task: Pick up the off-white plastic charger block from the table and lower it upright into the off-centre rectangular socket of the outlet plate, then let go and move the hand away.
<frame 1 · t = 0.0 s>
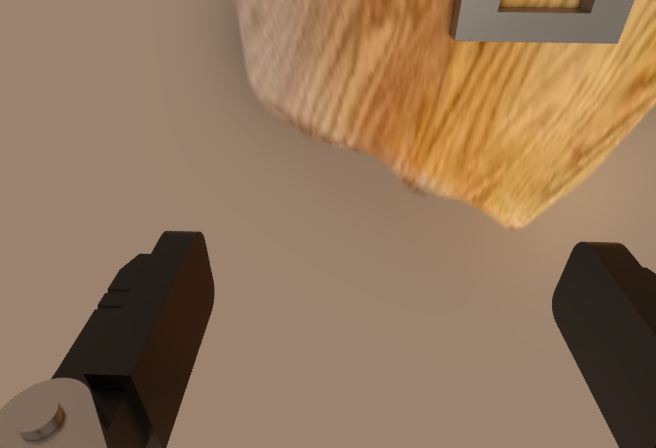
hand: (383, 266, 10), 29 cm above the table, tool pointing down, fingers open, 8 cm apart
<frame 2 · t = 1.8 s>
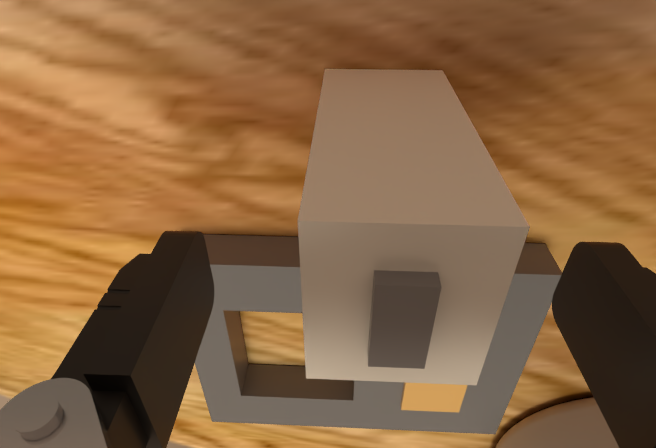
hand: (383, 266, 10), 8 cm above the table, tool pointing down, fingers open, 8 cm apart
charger: (378, 132, 16), on the table
cylinder vase: (587, 442, 28), on the table
outlet plate: (355, 329, 23), on the table
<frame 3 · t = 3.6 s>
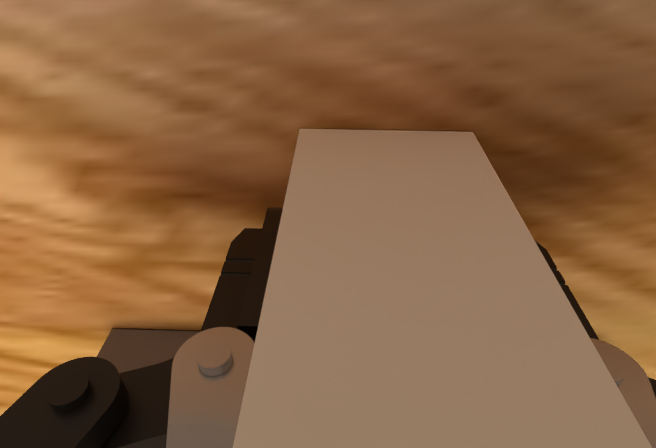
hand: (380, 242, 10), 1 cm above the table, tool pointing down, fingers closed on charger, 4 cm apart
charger: (378, 212, 11), on the table, touching gripper
outlet plate: (346, 431, 18), on the table
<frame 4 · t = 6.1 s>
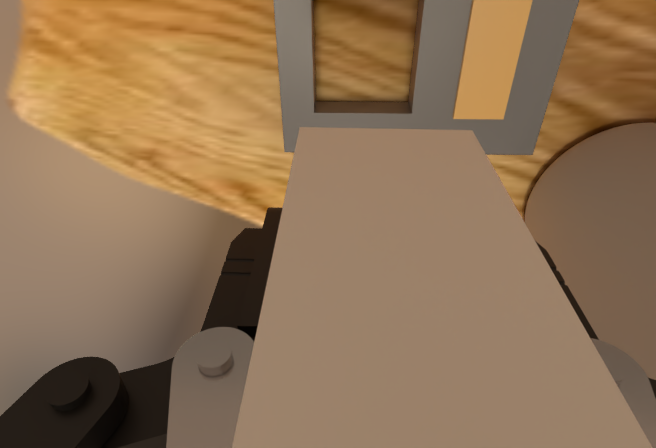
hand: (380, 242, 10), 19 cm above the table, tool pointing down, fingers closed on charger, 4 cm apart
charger: (378, 210, 11), point 18 cm above the table, touching gripper
cylinder vase: (608, 197, 32), on the table
outlet plate: (413, 48, 26), on the table
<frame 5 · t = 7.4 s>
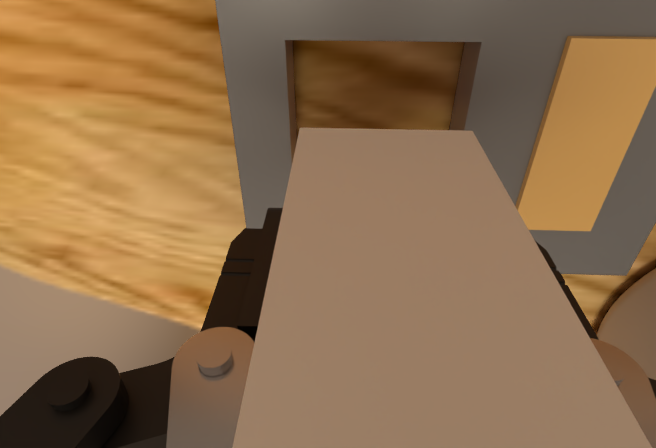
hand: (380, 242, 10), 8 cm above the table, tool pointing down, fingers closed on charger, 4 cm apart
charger: (378, 210, 11), point 7 cm above the table, touching gripper
outlet plate: (451, 119, 17), on the table
when the fingers open (3 cm above the table, at t = 8.7 s): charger drops 1 cm, resting in outlet plate.
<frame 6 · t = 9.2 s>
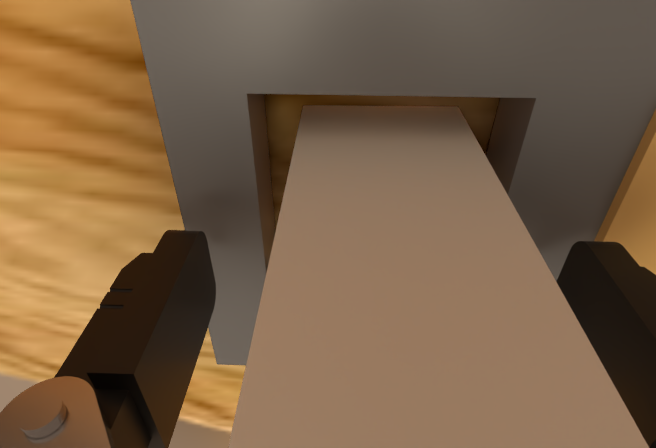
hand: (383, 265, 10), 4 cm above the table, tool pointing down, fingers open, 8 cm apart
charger: (375, 182, 13), resting in outlet plate
outlet plate: (478, 185, 12), on the table
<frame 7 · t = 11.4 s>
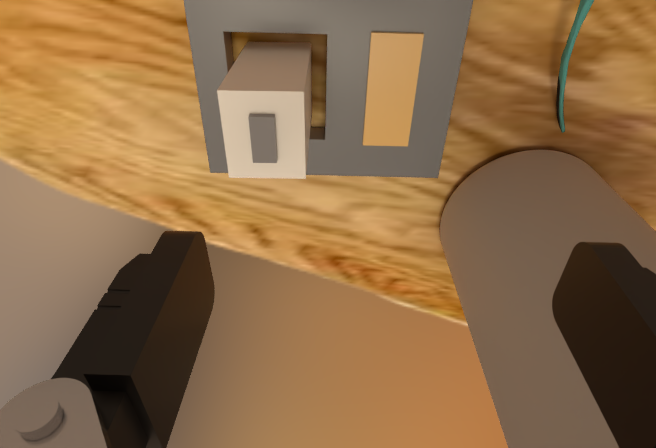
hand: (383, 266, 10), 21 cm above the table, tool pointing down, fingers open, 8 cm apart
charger: (281, 78, 29), resting in outlet plate
cylinder vase: (515, 214, 35), on the table
outlet plate: (326, 80, 29), on the table
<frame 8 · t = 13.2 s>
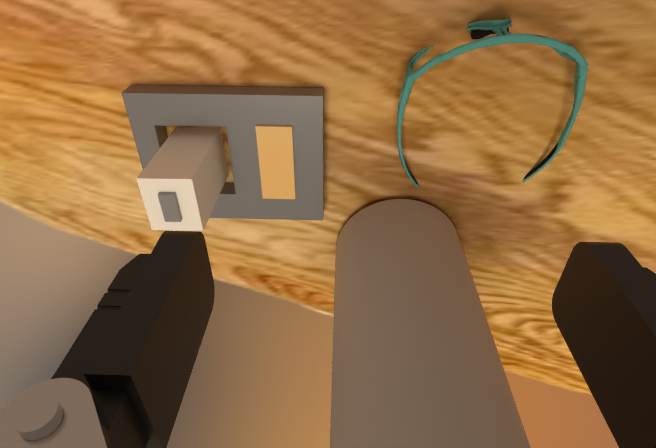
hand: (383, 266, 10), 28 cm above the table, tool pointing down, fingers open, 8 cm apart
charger: (203, 150, 39), resting in outlet plate
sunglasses: (477, 107, 37), on the table
cylinder vase: (395, 244, 45), on the table
outlet plate: (235, 151, 39), on the table
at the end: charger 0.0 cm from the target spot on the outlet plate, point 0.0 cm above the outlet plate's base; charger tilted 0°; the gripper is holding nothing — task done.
